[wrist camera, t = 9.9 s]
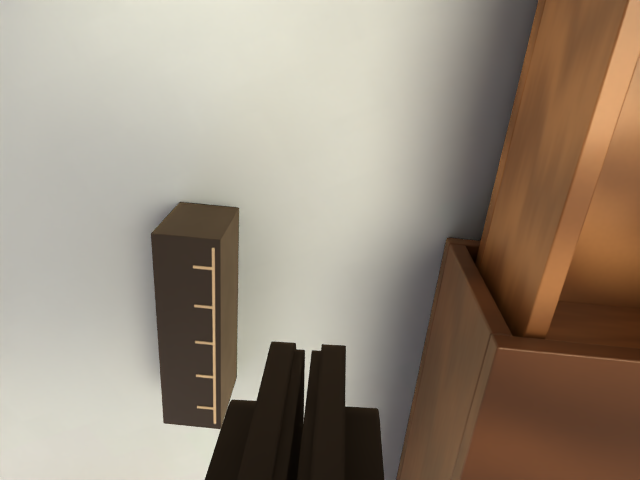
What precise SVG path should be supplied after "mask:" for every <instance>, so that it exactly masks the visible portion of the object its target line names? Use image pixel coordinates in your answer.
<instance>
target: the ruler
mask: <svg viewBox="0 0 640 480" xmlns="http://www.w3.org/2000/svg"><path fill="white" fill-rule="evenodd" d="M151 240H152V255H153V270H154V285H155V300H156V315H157V330H158V345H159V360H160V375H161V390H162V405H163V420H164V423H166V424H176V425H186V426H196V427H206V428H216V429H221V427H222V423H223V420H224V417H225V414H226V410H227V407H228V404H229V401H230V397H231V394H232V391H233V388H234V384H235V381H236V378H237V314H238V246H239V208H237V207H226V206H216V205H205V204H195V203H184V202H180V203H179V204H178V205H177V206H176V207H175V208H174V209H173V210H172V211H171V212H170V214H169V215H168V216H167V217H166V218H165V219H164V220H163V221H162V222H161V223H160V224H159V226H158V227H157V228H156V229H155V230H154V231H153V232H152V233H151Z"/></svg>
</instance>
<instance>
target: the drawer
mask: <svg viewBox="0 0 640 480" xmlns="http://www.w3.org/2000/svg"><path fill="white" fill-rule="evenodd" d="M475 265H476V267H477V269H478V271H479V273H480V275H481V276H482V278H483V280H484V282H485V284H486V286H487V288H488V290H489V292H490V294H491V295H492V297H493V299H494V301H495V303H496V305H497V307H498V309H499V311H500V313H501V314H502V316H503V318H504V320H505V322H506V324H507V326H508V328H509V330H510V331H511V333H512V336H516V337H526V338H537V339H547V340H557V341H567V342H577V343H587V344H598V345H608V346H618V347H628V348H638V349H640V0H538V5H537V9H536V13H535V17H534V21H533V25H532V29H531V34H530V38H529V42H528V46H527V50H526V54H525V59H524V63H523V67H522V71H521V75H520V79H519V84H518V88H517V92H516V96H515V100H514V104H513V108H512V113H511V117H510V121H509V125H508V129H507V133H506V138H505V142H504V146H503V150H502V154H501V158H500V162H499V167H498V171H497V175H496V179H495V183H494V187H493V192H492V196H491V200H490V204H489V208H488V212H487V217H486V221H485V225H484V229H483V233H482V237H481V241H480V246H479V250H478V254H477V258H476V262H475Z"/></svg>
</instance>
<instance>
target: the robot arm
mask: <svg viewBox="0 0 640 480" xmlns="http://www.w3.org/2000/svg"><path fill="white" fill-rule="evenodd" d="M345 366H346V346H341V345H323V344H322V348H321V351H313V350H312V354H311V363H310V372H309V380H308V389H307V398H306V406H305V415H304V369H305V350H296V343H287V342H271V345H270V349H269V353H268V357H267V361H266V365H265V369H264V373H263V377H262V381H261V385H260V389H259V393H258V397H257V401H247V400H231V401H230V403H229V406H228V409H227V412H226V415H225V418H224V421H223V424H222V427H221V431H220V434H219V437H218V440H217V443H216V446H215V449H214V453H213V456H212V459H211V462H210V465H209V468H208V471H207V475H206V478H205V480H384V470H383V457H382V444H381V431H380V418H379V410H378V409H377V408H361V407H345ZM303 423H304V424H303Z"/></svg>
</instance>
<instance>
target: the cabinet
mask: <svg viewBox="0 0 640 480" xmlns="http://www.w3.org/2000/svg"><path fill="white" fill-rule="evenodd" d="M479 246H480V241H479V240H468V239H458V238H447V239H446V243H445V248H444V253H443V258H442V262H441V267H440V272H439V277H438V282H437V286H436V291H435V296H434V301H433V306H432V310H431V315H430V320H429V325H428V330H427V334H426V339H425V344H424V349H423V354H422V358H421V363H420V368H419V373H418V378H417V382H416V387H415V392H414V397H413V402H412V406H411V411H410V416H409V421H408V426H407V430H406V435H405V440H404V445H403V450H402V454H401V459H400V464H399V469H398V474H397V478H396V480H640V349H638V348H628V347H618V346H608V345H598V344H587V343H577V342H567V341H557V340H547V339H537V338H526V337H516V336H512V333H511V331H510V330H509V328H508V326H507V324H506V322H505V320H504V318H503V316H502V314H501V313H500V311H499V309H498V307H497V305H496V303H495V301H494V299H493V297H492V295H491V294H490V292H489V290H488V288H487V286H486V284H485V282H484V280H483V278H482V276H481V275H480V273H479V271H478V269H477V267H476V265H475V262H476V258H477V254H478V250H479Z"/></svg>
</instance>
